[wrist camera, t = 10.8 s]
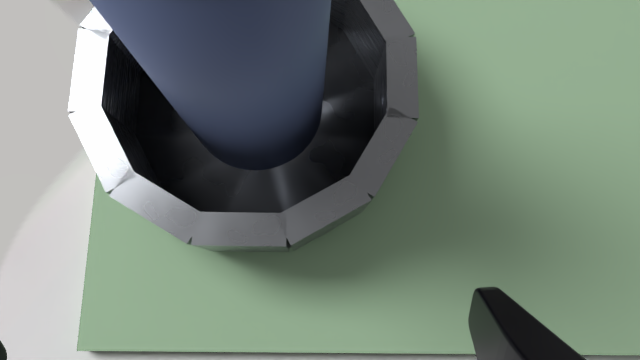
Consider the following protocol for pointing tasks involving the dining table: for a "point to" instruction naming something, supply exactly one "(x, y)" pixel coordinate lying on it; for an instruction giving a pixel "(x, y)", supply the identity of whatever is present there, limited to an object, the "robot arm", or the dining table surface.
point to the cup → (238, 184)
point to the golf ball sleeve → (233, 69)
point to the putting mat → (429, 209)
